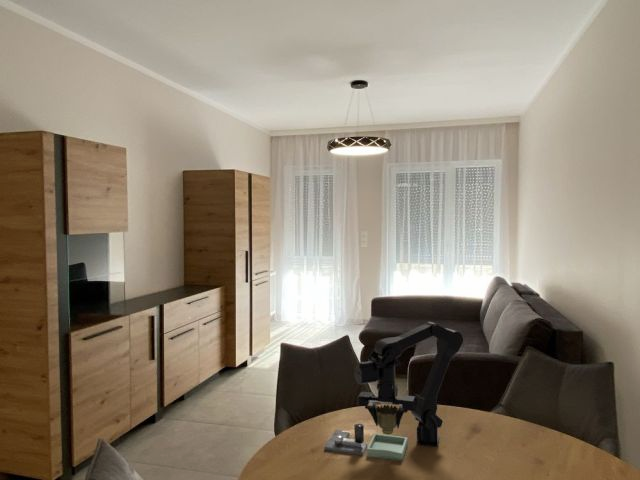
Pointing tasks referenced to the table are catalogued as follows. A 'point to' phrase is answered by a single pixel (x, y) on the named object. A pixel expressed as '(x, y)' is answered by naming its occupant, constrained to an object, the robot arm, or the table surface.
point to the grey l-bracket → (344, 445)
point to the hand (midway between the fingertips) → (387, 426)
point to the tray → (387, 447)
